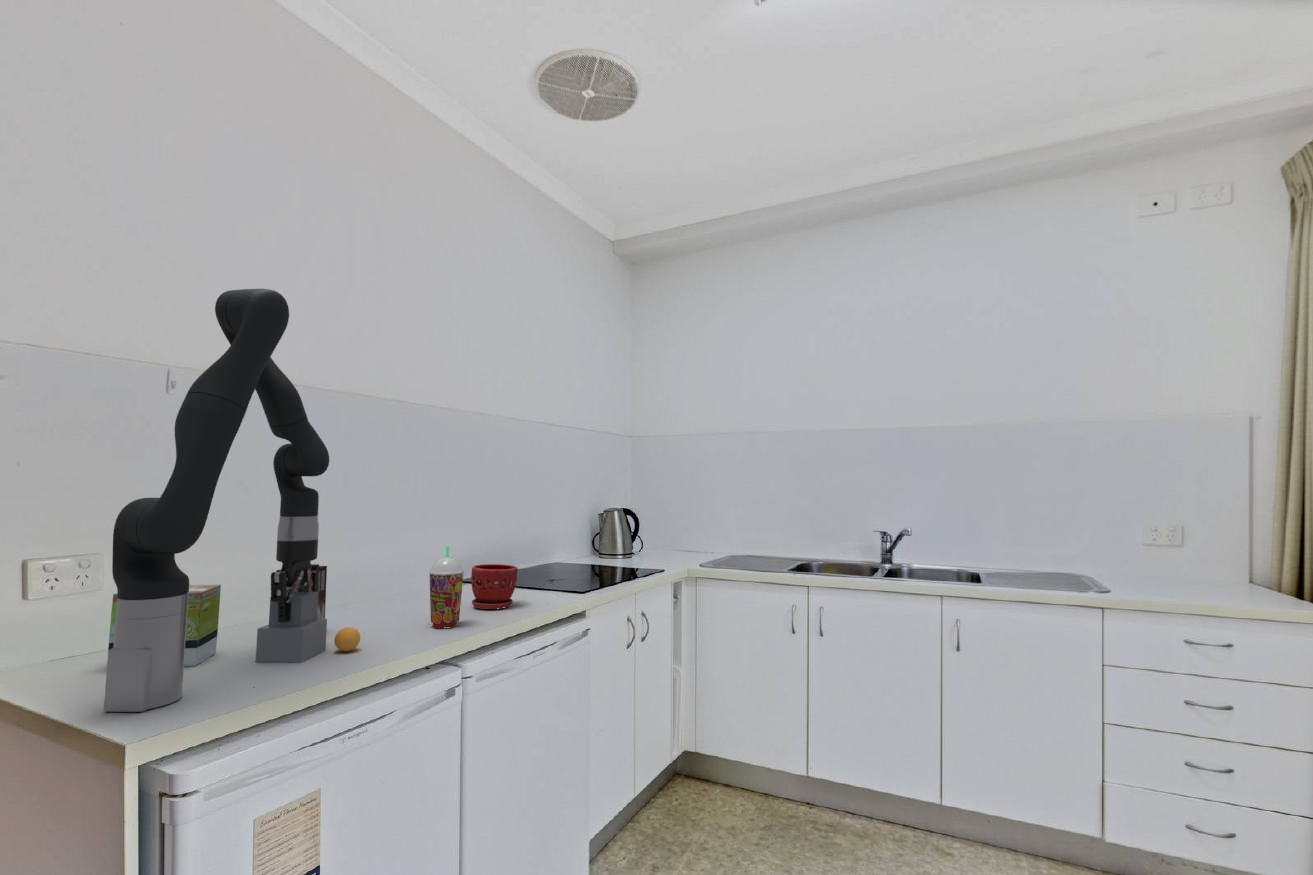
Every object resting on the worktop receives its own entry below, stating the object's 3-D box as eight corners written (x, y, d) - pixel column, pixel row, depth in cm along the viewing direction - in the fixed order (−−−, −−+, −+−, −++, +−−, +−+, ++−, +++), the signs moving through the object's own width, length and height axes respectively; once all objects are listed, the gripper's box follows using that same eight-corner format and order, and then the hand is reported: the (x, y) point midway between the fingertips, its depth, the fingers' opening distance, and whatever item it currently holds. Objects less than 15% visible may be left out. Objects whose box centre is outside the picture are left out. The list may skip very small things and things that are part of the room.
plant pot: (483, 613, 173) (484, 570, 174) (462, 606, 183) (463, 565, 184) (524, 607, 182) (525, 566, 183) (502, 601, 192) (503, 562, 193)
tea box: (104, 672, 117) (110, 593, 119) (133, 658, 127) (138, 584, 128) (196, 667, 121) (201, 590, 123) (217, 653, 131) (222, 582, 132)
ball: (353, 654, 131) (354, 630, 131) (329, 654, 131) (330, 629, 131) (364, 648, 136) (365, 624, 136) (341, 648, 136) (342, 624, 136)
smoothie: (420, 628, 154) (423, 547, 156) (439, 621, 162) (442, 544, 164) (450, 631, 152) (453, 548, 154) (468, 623, 160) (470, 545, 162)
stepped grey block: (301, 662, 125) (304, 598, 126) (255, 662, 125) (259, 598, 126) (325, 650, 134) (328, 590, 135) (282, 650, 134) (285, 590, 135)
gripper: (296, 540, 124) (292, 626, 123) (333, 535, 138) (329, 611, 137) (258, 540, 124) (253, 626, 123) (299, 534, 138) (295, 611, 137)
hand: (293, 618), depth 130 cm, fingers closed on stepped grey block, 6 cm apart
